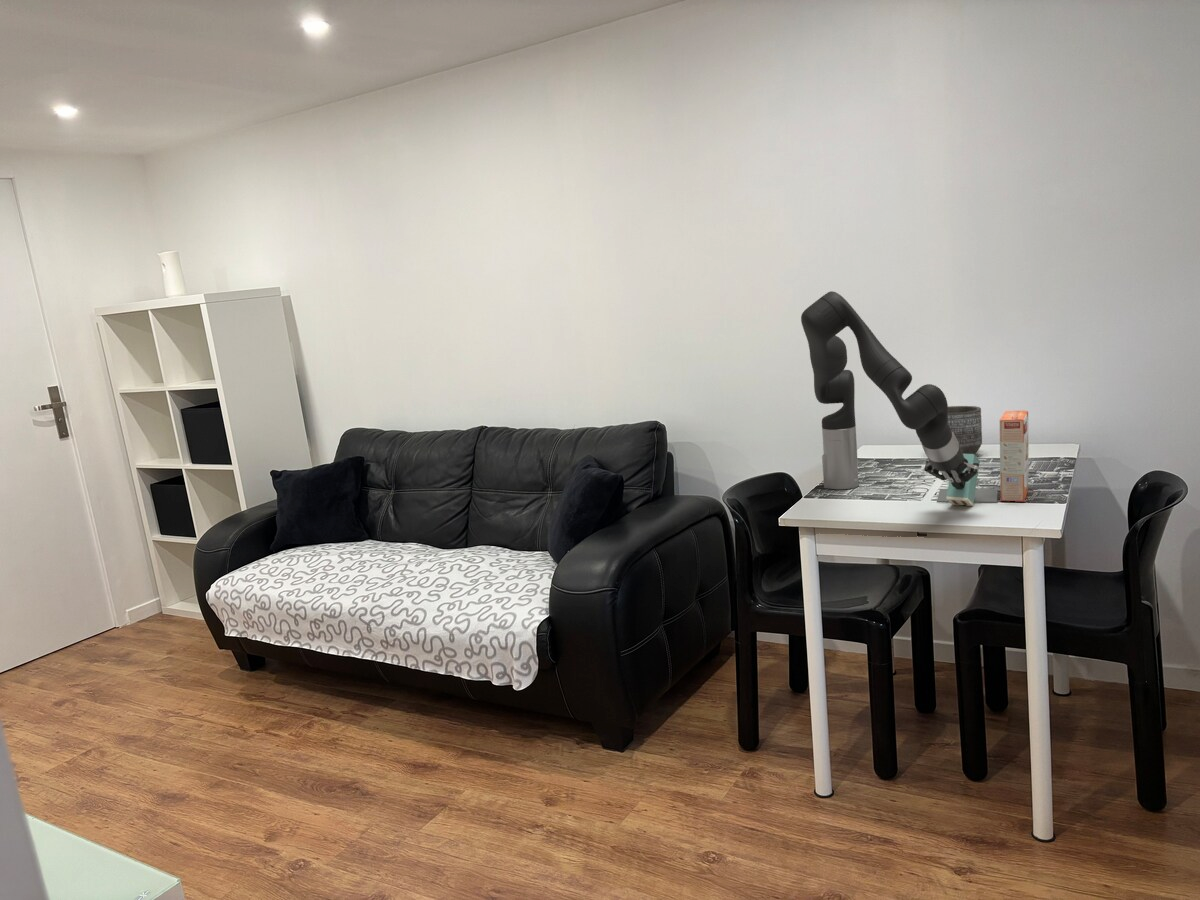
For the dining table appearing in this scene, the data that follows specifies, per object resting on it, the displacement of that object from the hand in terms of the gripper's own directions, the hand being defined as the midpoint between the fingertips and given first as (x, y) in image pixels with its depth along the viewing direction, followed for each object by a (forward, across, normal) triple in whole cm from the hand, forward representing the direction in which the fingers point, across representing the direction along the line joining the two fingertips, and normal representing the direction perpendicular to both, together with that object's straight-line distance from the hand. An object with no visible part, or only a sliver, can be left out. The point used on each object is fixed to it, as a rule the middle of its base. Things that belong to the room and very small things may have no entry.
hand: (960, 486), depth 213 cm
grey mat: (+12, -2, +4) cm, 13 cm away
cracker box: (+15, +8, +7) cm, 19 cm away
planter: (+46, -20, +37) cm, 63 cm away
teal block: (+3, 0, -3) cm, 4 cm away
